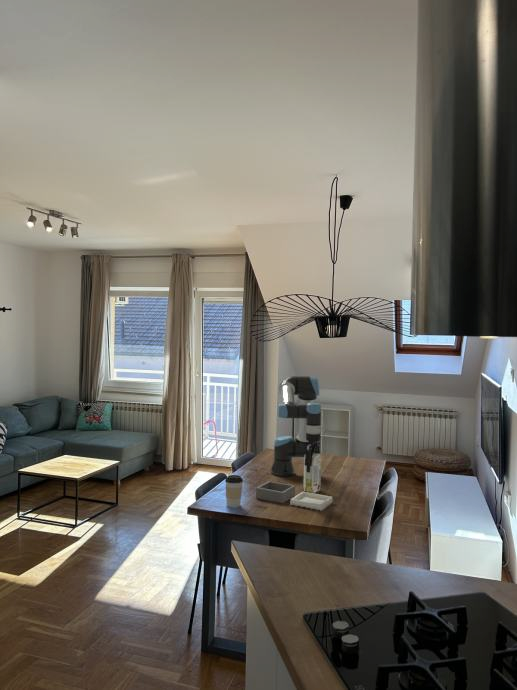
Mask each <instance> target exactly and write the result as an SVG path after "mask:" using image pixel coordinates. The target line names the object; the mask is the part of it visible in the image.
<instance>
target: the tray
mask: <svg viewBox="0 0 517 690" xmlns="http://www.w3.org/2000/svg"><path fill="white" fill-rule="evenodd" d="M289 500H290V501H289V505H290V506H292V505H295V506H294V507H297V506H301V507H300V508H302V507H306V508H305V509H307V508H311V509H310V510H312V509H316V510H315V511H317V510H320V511H319V512H322V511H323V510H325V509H326V508H328V507H329V506H330V505H331V504H332V503H333V496H329V495H324V494H319V493H309V492H305V491H301V492H300V493H298V494H295V496H294V497H292V498H290V499H289Z"/></svg>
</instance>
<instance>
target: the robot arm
mask: <svg viewBox="0 0 517 690" xmlns="http://www.w3.org/2000/svg"><path fill="white" fill-rule="evenodd" d="M319 387H320V385H319V380H318V378H317V377H316V376H307V375H305V376H303V375H302V376H301V375H300V376H299V375H298V376H296V375H295V376H294V375H291V376H288V377H286V378H284V379H283V380H281V382H280V384H279V386H278V392H279V395H280V403H279V404H278V407H277V414H278V418H280V419H281V418H282V419H299V421H298V434H297V435H296V437H295V438H293V436H291V435H282V436H277V437H276V438H275V439H274V442H273V443H274V445H273V447H274V448H273V449H274V450H273V463H272V466H271V468H270V474H271V473H272V475H273V474H274V476H277V475H278V476H277V477H290V475H291V476H293V474H294V475H295V467H294V465H293V458H301V459H302V458H303V459H304V457H305V464H304V463H303V466H304V465H305V466H306V478H308V479H312V466H311V463H312V456H313V453H318V454H321V442H320V441H321V436H322V435H321V430H322V427H321V426H322V425H321V424H322V422H321V421H322V404H321V403H319V402H315V400H317V397H318V396H320V388H319ZM295 396H297V398H298V400H299V404H296V402H295Z"/></svg>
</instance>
